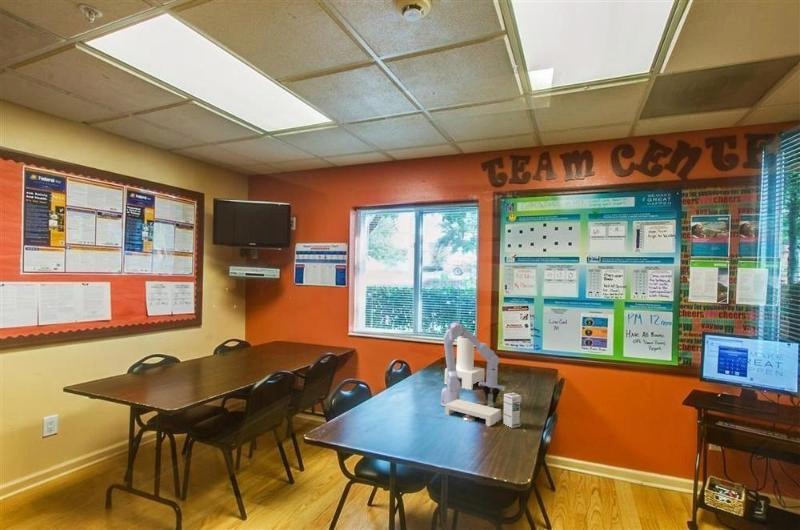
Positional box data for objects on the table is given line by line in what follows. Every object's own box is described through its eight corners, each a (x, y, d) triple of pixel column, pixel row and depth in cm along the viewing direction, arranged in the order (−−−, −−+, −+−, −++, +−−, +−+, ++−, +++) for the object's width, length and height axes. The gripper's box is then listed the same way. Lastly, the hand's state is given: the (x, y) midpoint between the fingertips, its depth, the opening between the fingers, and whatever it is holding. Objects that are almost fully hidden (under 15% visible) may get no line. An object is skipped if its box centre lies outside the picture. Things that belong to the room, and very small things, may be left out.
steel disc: (459, 419, 198) (459, 416, 198) (468, 416, 201) (468, 414, 201) (468, 423, 193) (468, 420, 193) (477, 420, 197) (477, 417, 197)
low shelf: (445, 414, 203) (445, 404, 203) (457, 408, 212) (457, 399, 213) (489, 426, 188) (490, 415, 188) (500, 419, 198) (500, 409, 198)
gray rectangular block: (487, 405, 220) (487, 392, 220) (497, 407, 217) (498, 394, 217) (468, 415, 203) (468, 400, 203) (479, 417, 200) (479, 403, 200)
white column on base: (458, 378, 275) (459, 334, 275) (484, 384, 264) (485, 337, 264) (444, 384, 260) (445, 337, 260) (471, 390, 249) (472, 340, 249)
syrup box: (511, 428, 187) (512, 396, 187) (502, 424, 192) (503, 393, 193) (520, 426, 190) (521, 395, 190) (512, 422, 195) (512, 391, 195)
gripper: (507, 377, 216) (507, 402, 216) (482, 372, 225) (482, 397, 225) (502, 379, 211) (501, 406, 210) (477, 374, 219) (476, 399, 219)
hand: (491, 401), depth 217 cm, fingers closed on gray rectangular block, 3 cm apart
